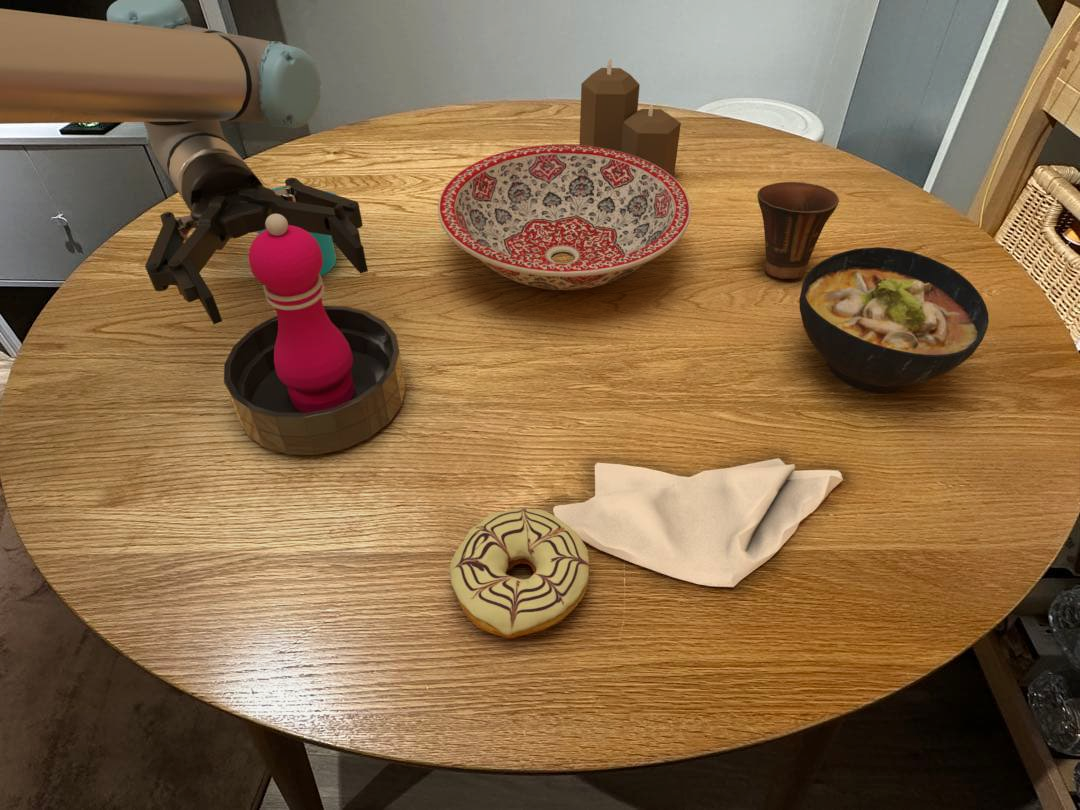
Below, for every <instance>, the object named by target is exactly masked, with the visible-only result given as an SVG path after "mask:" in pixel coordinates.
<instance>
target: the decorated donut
mask: <svg viewBox="0 0 1080 810" xmlns="http://www.w3.org/2000/svg"><path fill="white" fill-rule="evenodd" d="M517 565H528V566H530V567H531V569H532V571H533V574H532V575H531V576H530V577H529V578H523V579H522V578H517V577H514V576H512V575H509V574H507V572H509V571H510V569H512V568H514V566H517ZM449 576H450V583H451V587H452V588H453V590H454V594H455V596H456V599H457V602H458V604H459V606H460V607H461V610H462V611H463V613H464V614H465V616H466V618H467V619H468V620H469V621H470V622H471V623H473V625H474V626H475V627H476V628H478V629H480V630H484V631H485V632H487V633H490V634H492V635H495V636H499V637H502V638H505V639H515V638H517V637H521V636H526V635H529V634H535V633H537V632H541V631H544V630H547V629H548V628H551V627H552V626H555V625H557V624H559V623H560V622H562V621H563V620H565V619H566V617H567V616H568V615H570V614H571V612H573V610H574V609H575V608H576V607H577V606H578V605H579V603H580V602H581V601H582V600H583V597H584V595H585V594H586V591H587V589H588V586H589V580H590V557H589V550H588V547H587V546H586V545H585V542H583V541H582V540H581V538H580V537H579V535H578V534H577V533H576V532H575V531H574V530H572V529H571V528H570V527H569V526H567V525H566V524H565V523H563V522H562V521H561V520H560V519H558V518H557V517H556V516H555V515H554V514H552V513H550V512H548V511H546V510H543V509H540V508H539V509H538V508H526V507H522V508H514V509H508V510H506V511H505V510H504V511H499V512H493V513H491V514H489V515H487V516H486V517H485V518H483V519H482V520H481V522H480V523H479V524H477V525H474V526H472V527H471V528H470V529H469V530H468V532H467V534H466V535H465V537H464V540H463V541H462V542H461V543H460V544H459V546H458V547H457V548H456V550H455V552H454V555H453V556H452V558H451V562H450V564H449Z"/></svg>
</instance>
